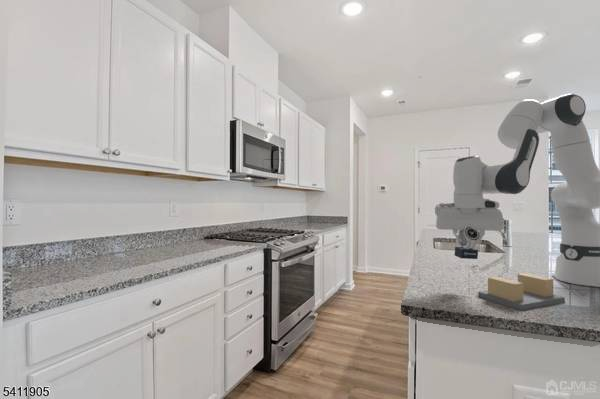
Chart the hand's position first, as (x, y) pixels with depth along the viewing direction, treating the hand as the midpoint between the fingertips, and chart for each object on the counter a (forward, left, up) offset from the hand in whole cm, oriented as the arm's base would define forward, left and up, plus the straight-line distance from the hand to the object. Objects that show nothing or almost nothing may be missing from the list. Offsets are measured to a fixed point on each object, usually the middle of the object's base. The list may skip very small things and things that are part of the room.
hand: (468, 243), depth 102 cm
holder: (-7, +13, -16) cm, 22 cm away
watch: (+1, -1, -5) cm, 5 cm away
